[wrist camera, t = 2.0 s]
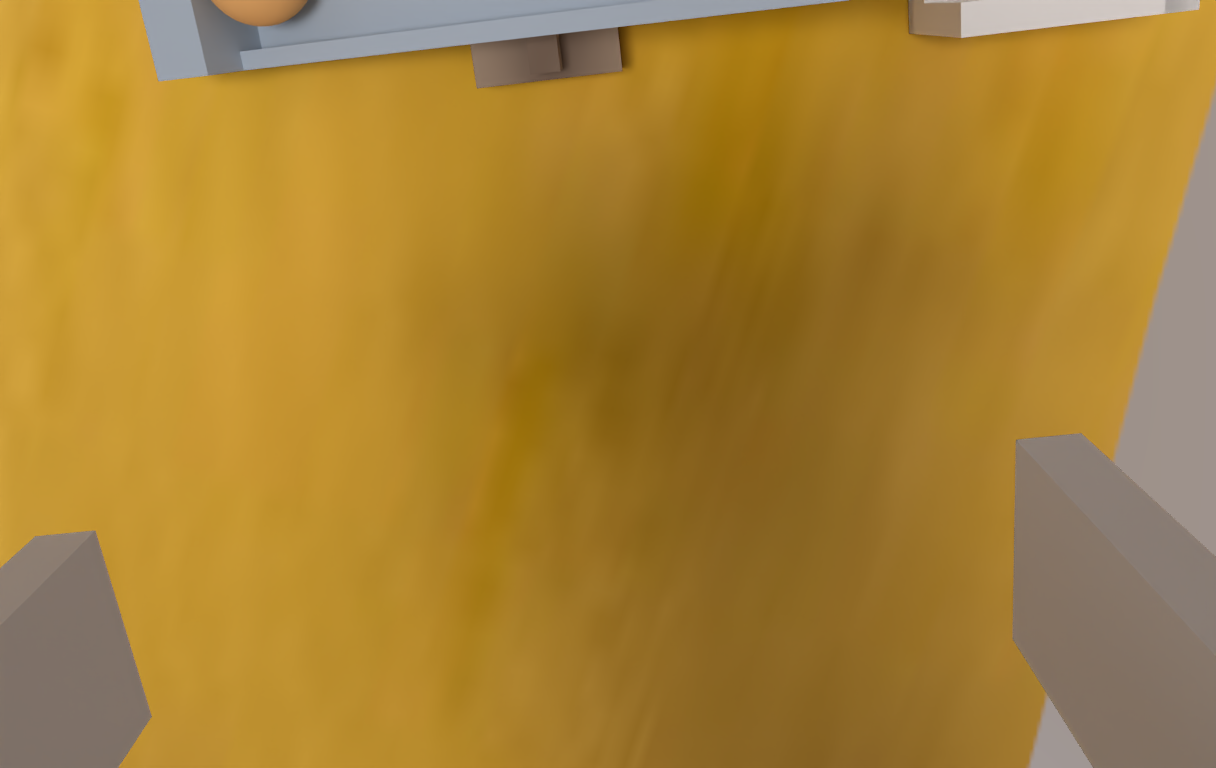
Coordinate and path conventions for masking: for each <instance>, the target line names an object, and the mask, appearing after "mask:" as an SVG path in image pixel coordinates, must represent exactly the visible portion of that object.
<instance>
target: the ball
mask: <svg viewBox="0 0 1216 768" xmlns="http://www.w3.org/2000/svg"><path fill="white" fill-rule="evenodd" d="M211 1H212V2H213V3H214V4H215V5H216V6H217V7H218V8H219V9H220V10H221V11H222V12H223V13H225V14H226V15H228V16H229V17H231V18H232V19H234V20H236V21H239V22H241V23H244V24H247V25H252V26H273V25H277V24H280V23H283V22H285V21H287V20H289V19H291V18H292V17H293V16H295V15H296V14H297V13H298V12H299V11H300V10H301V9H302V8H303V7H304V5H305V4H306V3H307V1H308V0H211Z"/></svg>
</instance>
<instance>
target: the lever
mask: <svg viewBox="0 0 1216 768" xmlns="http://www.w3.org/2000/svg"><path fill="white" fill-rule="evenodd" d="M838 1H847V0H308V1H307V3H306V4H305V5H304V7H303V8H302V9H301V10H300V11H299V12H298V13H297V14H296V15H295V16H293V17H292V18H291V19H289V20H287V21H285V22H283V23H280V24H277V25H273V26H252V25H247V24H244V23H241V22H239V21H236V20H234V19H232V18H231V17H229V16H228V15H226V14H225V13H223V12H222V11H221V10H220V9H219V8H218V7H217V6H216V5H215V4H214V3H213V2H212V1H211V0H139V4H140V8H141V12H142V16H143V20H144V24H145V28H146V32H147V36H148V40H149V44H150V48H151V52H152V56H153V60H154V65H155V69H156V73H157V77H158V81H165V80H174V79H182V78H191V77H200V76H208V75H215V74H222V73H229V72H236V71H243V70H252V69H260V68H269V67H278V66H286V65H295V64H304V63H312V62H321V61H329V60H338V59H347V58H355V57H364V56H372V55H381V54H390V53H398V52H407V51H416V50H424V49H433V48H441V47H450V46H459V45H467V44H476V43H485V42H493V41H502V40H510V39H519V38H528V37H536V36H545V35H553V34H562V33H571V32H579V31H588V30H597V29H605V28H614V27H622V26H631V25H640V24H648V23H657V22H666V21H674V20H683V19H691V18H700V17H709V16H717V15H726V14H734V13H743V12H752V11H760V10H769V9H778V8H786V7H795V6H803V5H812V4H821V3H829V2H838Z"/></svg>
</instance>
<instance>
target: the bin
mask: <svg viewBox="0 0 1216 768" xmlns="http://www.w3.org/2000/svg"><path fill="white" fill-rule="evenodd" d="M1199 3H1200V0H909V34H921V35H933V36H945V37H957V38H964V37H972V36H981V35H989V34H997V33H1006V32H1014V31H1023V30H1031V29H1039V28H1048V27H1056V26H1065V25H1073V24H1081V23H1090V22H1098V21H1107V20H1115V19H1123V18H1132V17H1140V16H1148V15H1157V14H1165V13H1174V12H1182V11H1190V10H1199Z"/></svg>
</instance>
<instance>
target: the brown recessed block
mask: <svg viewBox="0 0 1216 768" xmlns="http://www.w3.org/2000/svg"><path fill="white" fill-rule="evenodd" d="M470 46H471V52H472V59H473V66H474V72H475V79H476V86H477V88H484V87H492V86H501V85H509V84H518V83H526V82H534V81H543V80H551V79H559V78H568V77H576V76H584V75H593V74H601V73H610V72H618V71H622V63H621V53H620V44H619V34H618V27H614V28H605V29H597V30H588V31H579V32H571V33H562V34H553V35H545V36H536V37H528V38H519V39H510V40H502V41H493V42H485V43H476V44H470Z"/></svg>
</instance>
